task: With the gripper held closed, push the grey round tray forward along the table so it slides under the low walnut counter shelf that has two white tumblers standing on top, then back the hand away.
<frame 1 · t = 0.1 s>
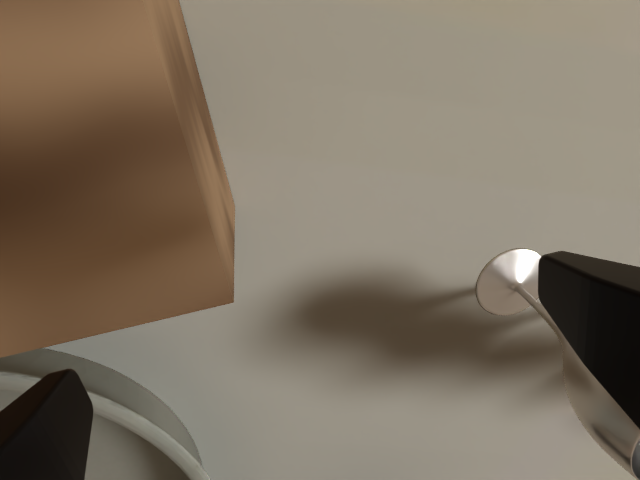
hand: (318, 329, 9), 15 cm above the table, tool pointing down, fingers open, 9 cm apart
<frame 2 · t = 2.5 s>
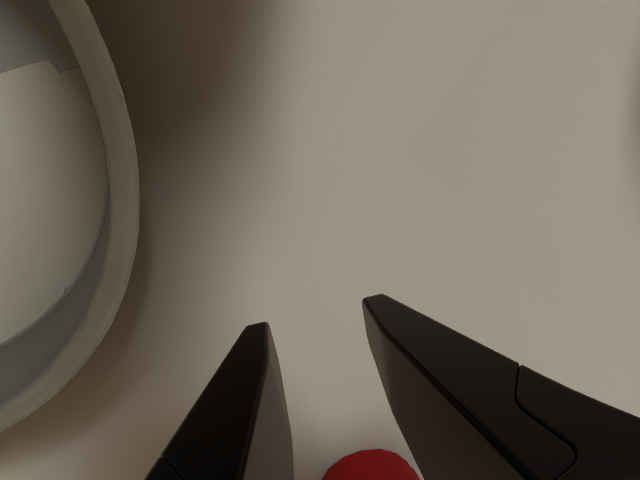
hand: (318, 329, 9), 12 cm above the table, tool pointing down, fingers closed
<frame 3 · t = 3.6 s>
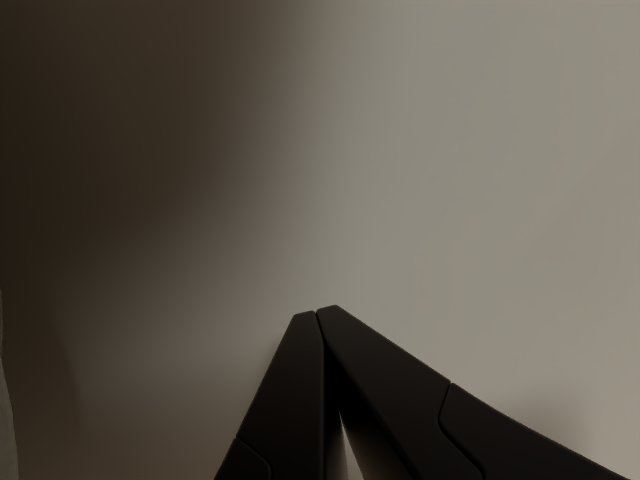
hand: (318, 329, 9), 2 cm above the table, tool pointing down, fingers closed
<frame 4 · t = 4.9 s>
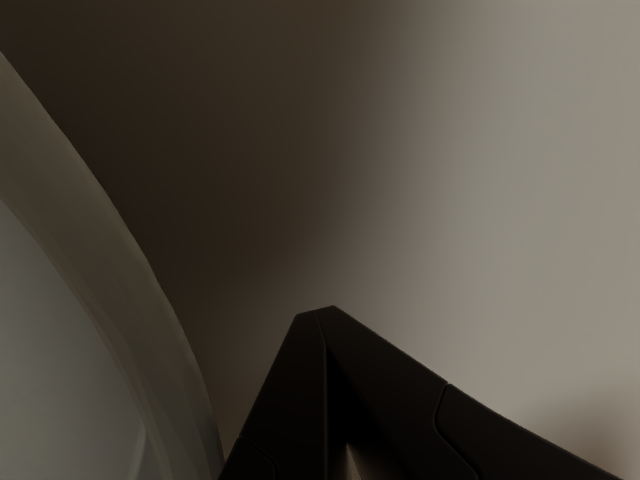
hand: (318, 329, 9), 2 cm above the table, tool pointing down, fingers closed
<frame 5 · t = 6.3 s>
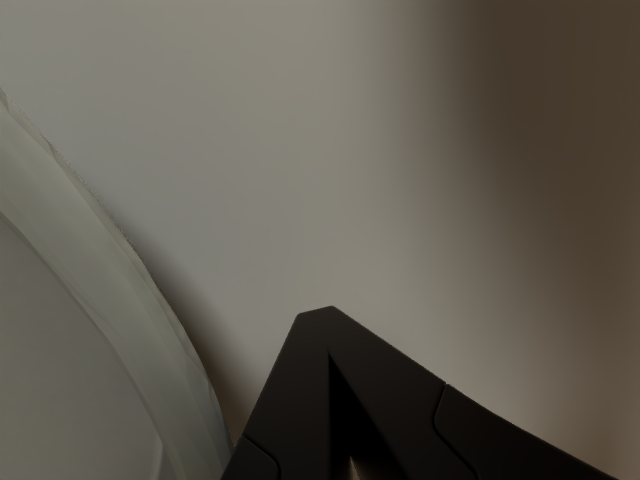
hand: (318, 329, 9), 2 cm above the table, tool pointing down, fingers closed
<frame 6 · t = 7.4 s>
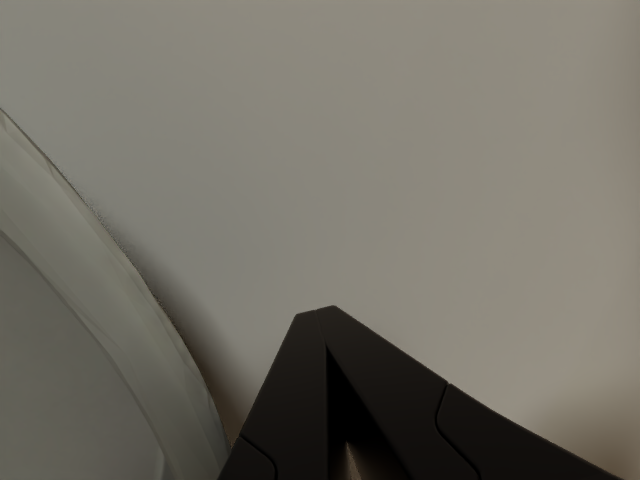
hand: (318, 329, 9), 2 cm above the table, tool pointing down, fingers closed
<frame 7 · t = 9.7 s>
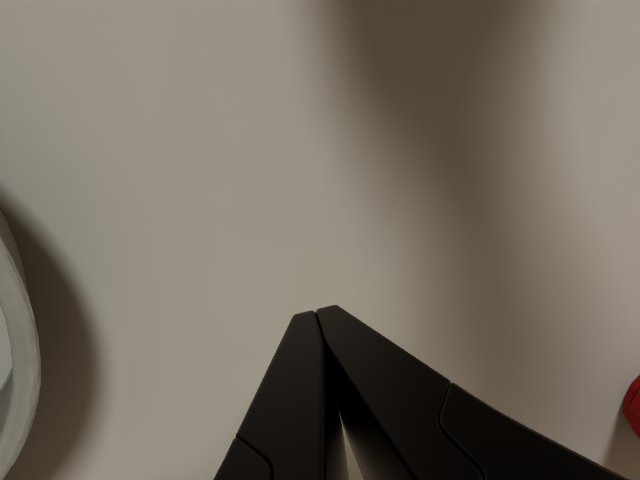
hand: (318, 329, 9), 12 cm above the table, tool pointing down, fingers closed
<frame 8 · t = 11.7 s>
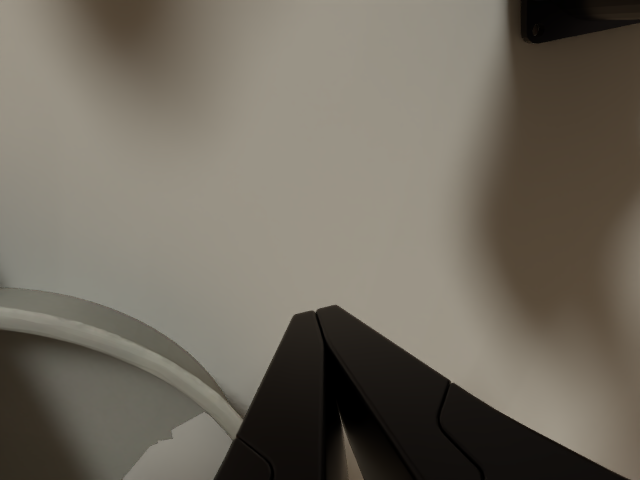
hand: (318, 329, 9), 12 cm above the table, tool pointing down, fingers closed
grey round tray: (34, 463, 25), on the table
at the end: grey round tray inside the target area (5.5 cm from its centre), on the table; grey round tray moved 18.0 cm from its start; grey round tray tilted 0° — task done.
